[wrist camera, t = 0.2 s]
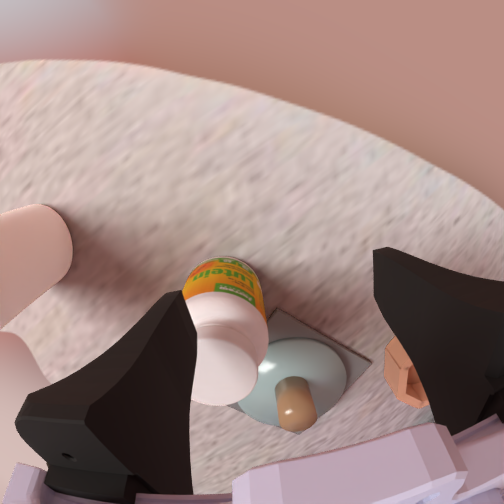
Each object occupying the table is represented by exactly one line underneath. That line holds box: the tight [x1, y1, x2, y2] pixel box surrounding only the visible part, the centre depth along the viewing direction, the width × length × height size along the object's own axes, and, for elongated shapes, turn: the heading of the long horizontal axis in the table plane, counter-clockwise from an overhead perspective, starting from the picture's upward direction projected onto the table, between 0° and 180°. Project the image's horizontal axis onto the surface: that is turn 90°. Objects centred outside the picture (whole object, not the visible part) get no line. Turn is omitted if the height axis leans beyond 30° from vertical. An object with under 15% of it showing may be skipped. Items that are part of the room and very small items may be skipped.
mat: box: [227, 308, 371, 434], centre depth 25 cm, size 10×10×1 cm
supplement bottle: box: [182, 256, 269, 406], centre depth 18 cm, size 5×5×10 cm
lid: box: [238, 337, 347, 432], centre depth 23 cm, size 9×9×4 cm
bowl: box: [384, 336, 430, 409], centre depth 24 cm, size 8×8×3 cm
